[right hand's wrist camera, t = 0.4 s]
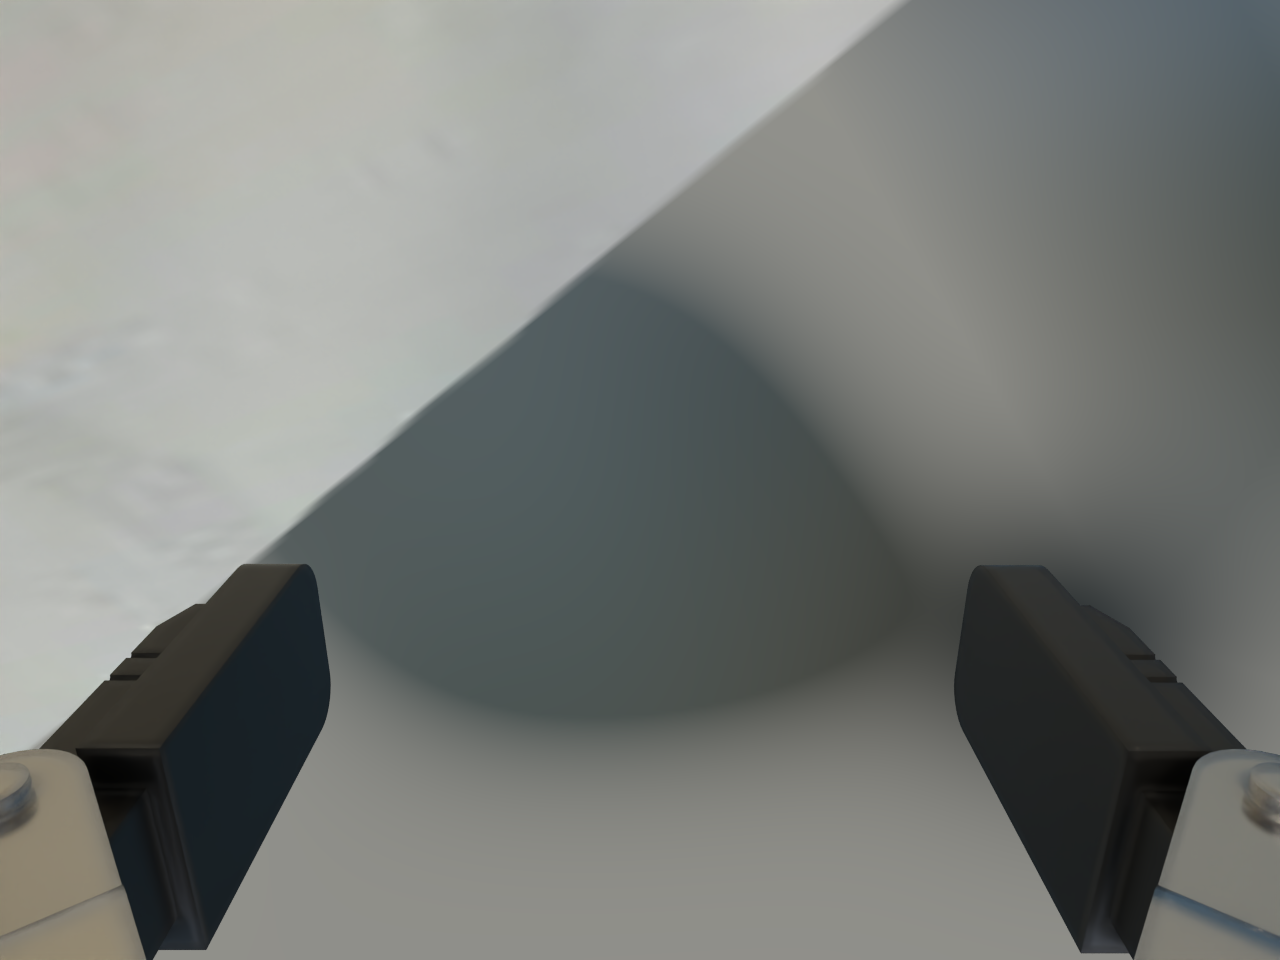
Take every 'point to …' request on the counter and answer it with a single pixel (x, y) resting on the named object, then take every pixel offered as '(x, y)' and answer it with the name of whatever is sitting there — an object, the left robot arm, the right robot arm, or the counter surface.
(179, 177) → the counter surface
